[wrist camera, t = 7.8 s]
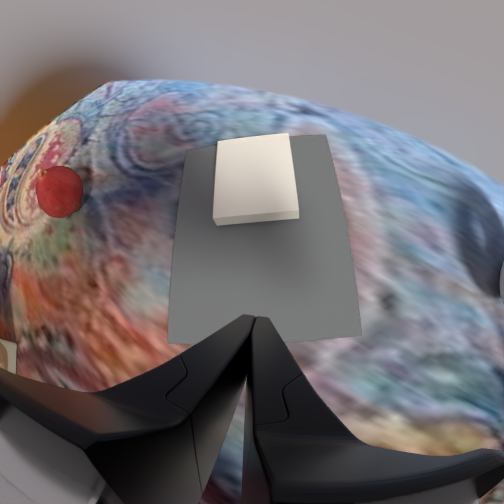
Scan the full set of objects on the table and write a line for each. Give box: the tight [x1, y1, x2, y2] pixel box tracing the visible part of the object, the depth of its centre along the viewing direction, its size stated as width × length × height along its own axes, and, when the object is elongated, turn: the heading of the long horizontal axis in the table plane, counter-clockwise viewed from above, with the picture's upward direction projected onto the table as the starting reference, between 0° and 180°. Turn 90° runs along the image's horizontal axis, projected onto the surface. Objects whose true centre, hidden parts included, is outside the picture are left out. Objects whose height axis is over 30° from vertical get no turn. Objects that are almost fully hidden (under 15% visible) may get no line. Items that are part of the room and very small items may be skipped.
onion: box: [36, 166, 83, 218], centre depth 26 cm, size 6×6×8 cm
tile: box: [213, 133, 299, 226], centre depth 25 cm, size 2×7×9 cm
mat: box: [167, 135, 362, 344], centre depth 24 cm, size 20×15×1 cm
